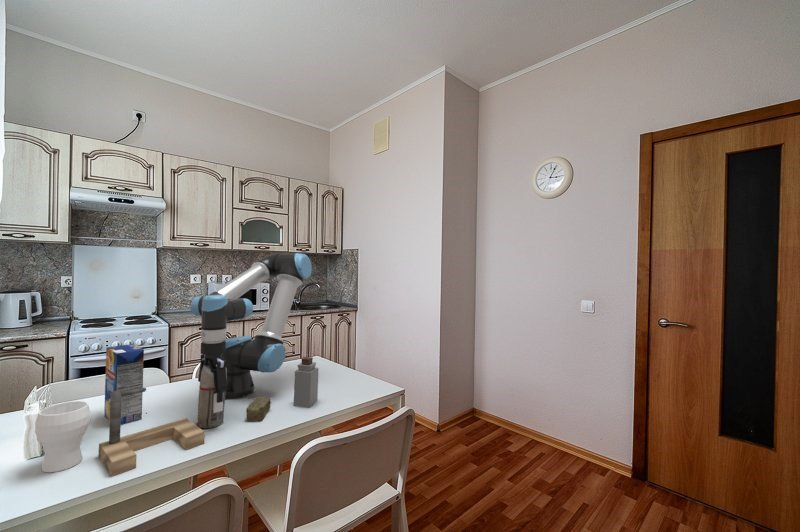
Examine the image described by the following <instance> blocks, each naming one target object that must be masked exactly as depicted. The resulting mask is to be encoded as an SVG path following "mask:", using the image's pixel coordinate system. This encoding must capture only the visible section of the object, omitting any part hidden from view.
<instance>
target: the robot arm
mask: <svg viewBox="0 0 800 532" xmlns="http://www.w3.org/2000/svg"><path fill="white" fill-rule="evenodd" d="M312 272H313V271H312V261H311V259H310V258H309V256H308V255H306V254H304V253H298V252H295V253H292V252H290V253H289V252H287V253H286V252H275V253H271V254H268V255H266V256H264V257H261V258H260V259H258V260H256V261H255V262H253V263H252V264H251V266H250V268H248V269H247V270H245V271H244V272H242V273H241V274H239V275H238V276H236V277H234V278H233V279H231V280H230V281H228V282H227V283H225V284H224V285H222V286H220V287H219V288H218V289H216V290H214V291H213V292H212V293H210V294H208V295H205V296H204V295H201V296H196V297H194V298H193V300H192V301H190V302H191V303H190V307H189V308H190V311H191V313H192V315H193V316H196V317H200V318H201V329H200V330H201V332H200V333H199V336H200V341H201V343H200V363H199V371H198V379H197V381H198V383H200V378H201V372H202V368H203V366H204V365H205V366H209V367H210V370H211V372H212V373H213V374H214V386H215V392H213V394H214V404H213V413H216V412H219V411H223V392H224V391H226V392H225V400H232V399H233V400H234V399H240V398H245V397H247V396H250V395H252V394H254V392H255V382H254V379H253V377H252V373H251V372H252V371H253V372H260V373H262V374H263V373H270V374H271V373H274V372H276V371H277V370H279V369H281V366H282V365H283V364H284V361H285V360H286V354H287V353H286V347H285V345H284V339H283V338H282V336H283V333H284V331H285V327H286V324H287V321H288V318H289V315H290V312H291V308H292V306H293V303H294V301H295V300H294V299H295V296H296V293H297V290H298V288H299V287H300V286H302V285H303V282H304V280H307V279H309V278H310V277H311V275H312ZM275 278H276V279H277V285H276V288H275V290H274V293H273V296H272V299H271V302H270V305H269V308H268V310H267V314H266V317H265V319H264V323H263V325H262V328H261V330H260V332H259V333H257V334H256V335H255V337H254V339H252V337H251V335H250V336H249V335H243V336H234V337H230V338H227V322H230V321H237V320H243V319H246V318H249V317H250V316H251V315H252V314H253V310H254V304H253V303H252V301H251V300H250V299H248V298H241V297H242V296H243V295H244V294H246V293H248V292H249V291H250V290H251V289H253V288H255V286H257V285H258V284H260V283H261V282H266V281H268V280H270V279H275ZM214 369H215V370H214ZM226 369H227V379H226Z"/></svg>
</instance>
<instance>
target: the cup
mask: <svg viewBox="0 0 800 532" xmlns="http://www.w3.org/2000/svg"><path fill="white" fill-rule="evenodd" d="M91 413H92V412H91V409H90V406H89V403H88V402H87V401H85V400H72V401H64V402H60V403H56V404H52V405H50V406H46V407H44V408H42V409H41V410H39V411H38V414H37V416H36V419H35V425H34V426H35V428H34V433H35V436H36V438H37V440H38V441H39V442H40V444H41V445H42V446H43V450H44V451H43V452H44V457H43V461H42V466H41V471H42V472H44V473H56V472H61V471H64V470H67V469H70V468H72V467H74V466H77V465H78V464H80V463H81V462H82V460H83V455H82V450H81V444H82V443H81V442H82V438H83V437H84V436H83V435H84V434H85V433H86V431H87V429H88V428H89V424H90V422H91V416H92V415H91Z"/></svg>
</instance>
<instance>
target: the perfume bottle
mask: <svg viewBox="0 0 800 532" xmlns="http://www.w3.org/2000/svg"><path fill="white" fill-rule="evenodd" d="M316 365H317V362H315V361H313V356H304V357H302V358H301V362H300V363H298V364H297V369H296V370H294V379H293V380H294V382H293V383H294V385H293V387H294V388H293V406H294V407H301V408H306V409H307V408H308V409H311V408H312V407H313V406H314V405H315V404H316V403H318V393H319V392H318V391H319V367H316Z"/></svg>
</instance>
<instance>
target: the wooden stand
mask: <svg viewBox="0 0 800 532" xmlns="http://www.w3.org/2000/svg"><path fill="white" fill-rule="evenodd" d="M146 391H147V388H146V387H143V388H140V389H135V390H130V391H126V392H122V391H113V392H111V396H110V422H109V429H108V430H109V431H108V432H109V433H108V440H106V441H104V442H103V441H102V442H100V443H98V457H99V459H100V460H101V462H102V464H103V465H104V466H105V468H106V470H107V471H108V473H109V474H110V476H111V477H114V476H117V475H120V474H123V473H125V472H128V471H131V470H133V469H136V468H137V453H136V452H135V451H138V450H141V449H146V448H149V447H151V446H154V445H158V444H160V443H163V442H166V441H167V442H168V441H170V440H174V441H175V442H176V443H177V444H179V445H180V447H182V448H183V449H184V450H186V451H187V450H190V449H193V448H196V447H198V446H201V445H203V444H205V438H206V437H205V434H206V433H205V430H203V428H202V429H201V427H198V426H197V424H195V423H194V422H192V421H191V420H190V419H188V418H186V417H185V418H182V419H179V420H178V419H177V420H174V421H172V422H168V423H165V424H161V425H158V426H154V427H150V428H148V429H144V430H141V431H137V432H133V433H131V434H126V435H123V436H121V426H122V425H121V397H123V396H127V395H132V394H136V393H141V392H143V393H144V392H146Z"/></svg>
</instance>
